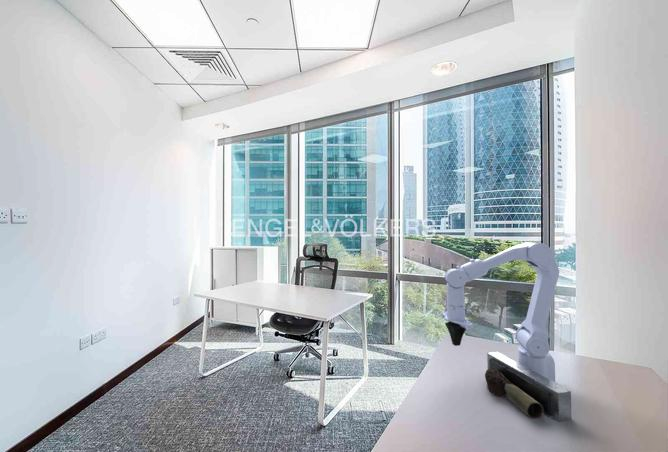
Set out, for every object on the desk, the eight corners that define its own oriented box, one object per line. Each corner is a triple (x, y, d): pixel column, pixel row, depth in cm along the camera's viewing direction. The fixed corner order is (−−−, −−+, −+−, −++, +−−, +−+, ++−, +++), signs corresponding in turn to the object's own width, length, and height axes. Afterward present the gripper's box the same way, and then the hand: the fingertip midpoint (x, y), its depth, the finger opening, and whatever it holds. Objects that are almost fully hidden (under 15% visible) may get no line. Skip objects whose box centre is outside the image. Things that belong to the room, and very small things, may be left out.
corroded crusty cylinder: (544, 418, 72) (543, 396, 72) (520, 421, 71) (520, 399, 71) (495, 381, 89) (495, 363, 89) (476, 383, 88) (476, 365, 88)
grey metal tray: (497, 372, 94) (497, 351, 95) (571, 418, 71) (570, 391, 71) (485, 374, 93) (484, 353, 94) (555, 422, 70) (555, 393, 70)
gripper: (433, 300, 101) (433, 337, 101) (459, 311, 87) (459, 355, 87) (450, 298, 103) (451, 336, 102) (478, 309, 89) (479, 352, 88)
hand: (456, 344), depth 95 cm, fingers closed
